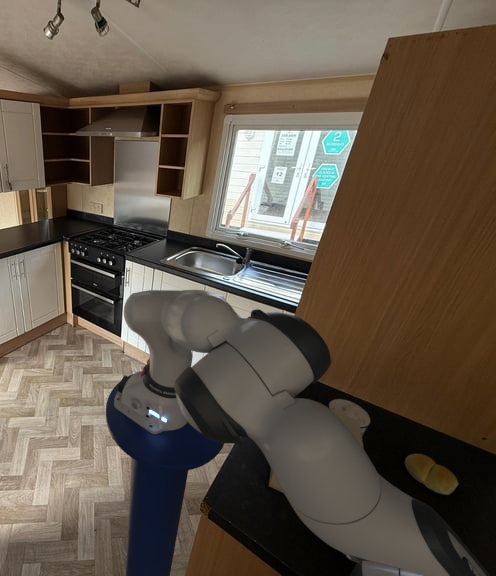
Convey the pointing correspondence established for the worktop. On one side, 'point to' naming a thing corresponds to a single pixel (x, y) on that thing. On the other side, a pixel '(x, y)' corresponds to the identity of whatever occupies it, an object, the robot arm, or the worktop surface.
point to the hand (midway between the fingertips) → (393, 511)
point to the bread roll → (431, 474)
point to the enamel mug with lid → (351, 412)
